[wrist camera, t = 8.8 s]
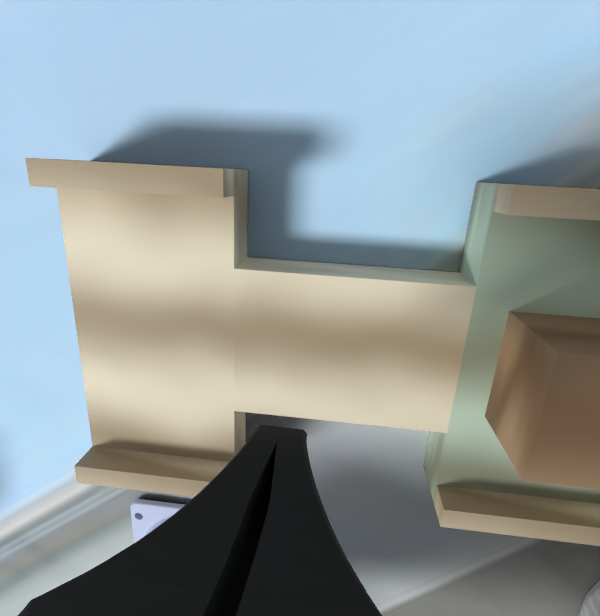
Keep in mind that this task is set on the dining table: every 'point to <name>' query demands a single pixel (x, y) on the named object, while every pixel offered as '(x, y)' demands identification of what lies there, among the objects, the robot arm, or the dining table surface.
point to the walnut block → (549, 398)
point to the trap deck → (309, 335)
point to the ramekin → (592, 602)
